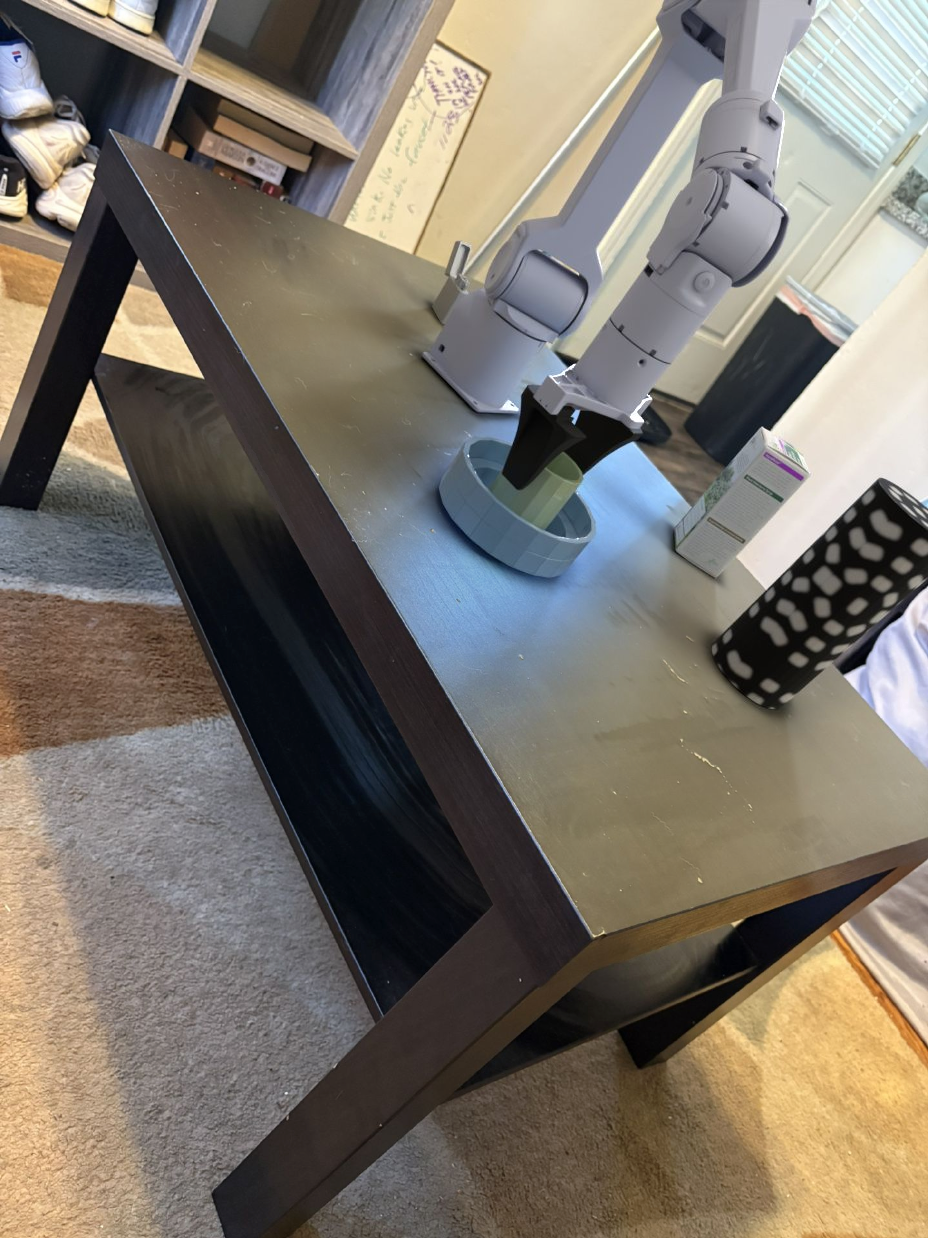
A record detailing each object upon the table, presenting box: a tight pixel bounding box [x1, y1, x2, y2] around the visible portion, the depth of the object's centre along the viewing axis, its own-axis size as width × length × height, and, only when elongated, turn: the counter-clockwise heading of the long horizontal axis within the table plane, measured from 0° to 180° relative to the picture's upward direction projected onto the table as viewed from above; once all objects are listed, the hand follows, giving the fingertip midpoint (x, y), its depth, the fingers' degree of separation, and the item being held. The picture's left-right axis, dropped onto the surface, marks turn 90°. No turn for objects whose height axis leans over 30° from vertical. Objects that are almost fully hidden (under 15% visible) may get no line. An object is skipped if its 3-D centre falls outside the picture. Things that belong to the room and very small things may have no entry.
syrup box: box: [673, 426, 812, 579], centre depth 91 cm, size 6×6×14 cm
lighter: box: [431, 240, 473, 325], centre depth 105 cm, size 7×2×8 cm, turn 20°
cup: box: [489, 452, 585, 531], centre depth 72 cm, size 6×6×7 cm
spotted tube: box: [711, 477, 928, 710], centre depth 75 cm, size 8×8×20 cm
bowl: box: [438, 436, 597, 579], centre depth 73 cm, size 13×13×4 cm
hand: (536, 479), depth 71 cm, fingers open, 7 cm apart
